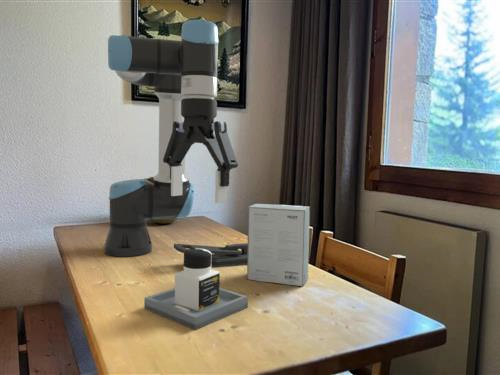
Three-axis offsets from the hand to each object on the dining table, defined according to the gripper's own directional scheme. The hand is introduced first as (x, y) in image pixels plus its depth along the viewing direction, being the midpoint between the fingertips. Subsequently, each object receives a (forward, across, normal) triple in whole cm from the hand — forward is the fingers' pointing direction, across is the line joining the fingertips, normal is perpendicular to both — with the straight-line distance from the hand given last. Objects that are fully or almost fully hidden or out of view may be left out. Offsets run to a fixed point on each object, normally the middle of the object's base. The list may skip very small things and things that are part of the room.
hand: (197, 198), depth 95 cm
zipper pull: (+25, -21, +28) cm, 43 cm away
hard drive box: (+25, +1, +29) cm, 38 cm away
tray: (+24, 0, 0) cm, 24 cm away
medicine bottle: (+24, 0, 0) cm, 24 cm away
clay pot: (+25, -81, +58) cm, 102 cm away
